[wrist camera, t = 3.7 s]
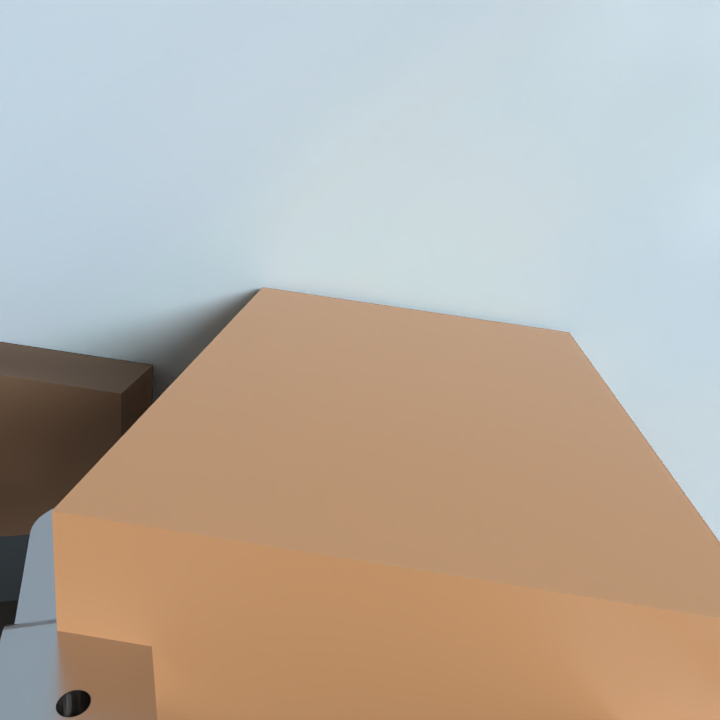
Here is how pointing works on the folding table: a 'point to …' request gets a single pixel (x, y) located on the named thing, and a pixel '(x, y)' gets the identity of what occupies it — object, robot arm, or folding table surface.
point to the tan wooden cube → (394, 530)
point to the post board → (59, 424)
